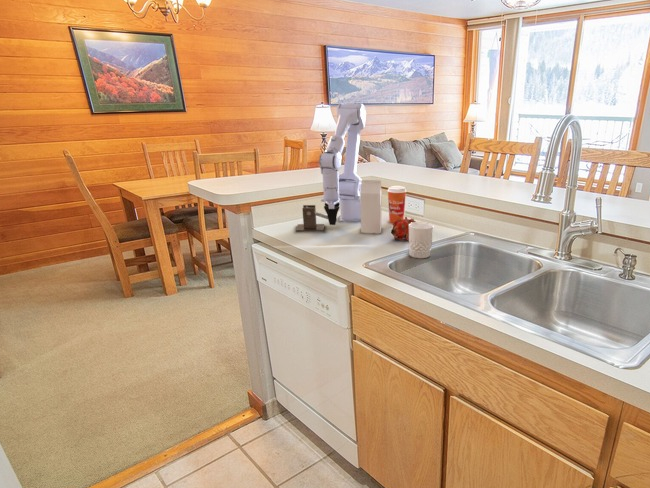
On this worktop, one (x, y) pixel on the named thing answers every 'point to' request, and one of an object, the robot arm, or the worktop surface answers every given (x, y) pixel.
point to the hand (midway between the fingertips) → (332, 223)
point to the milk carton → (370, 206)
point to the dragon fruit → (401, 228)
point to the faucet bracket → (309, 220)
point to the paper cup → (396, 202)
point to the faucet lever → (321, 215)
